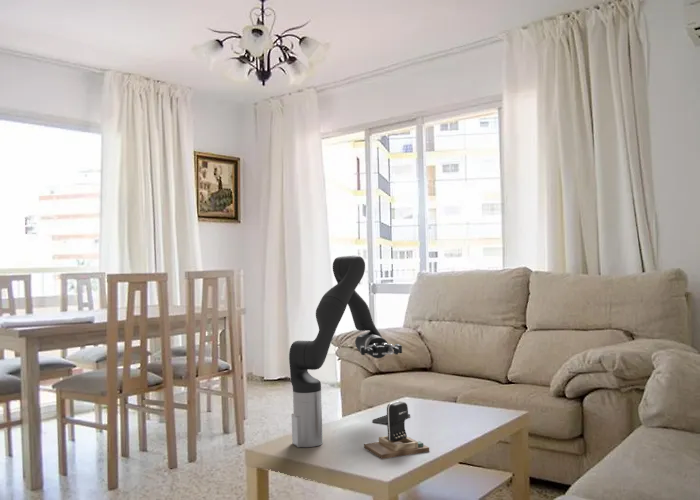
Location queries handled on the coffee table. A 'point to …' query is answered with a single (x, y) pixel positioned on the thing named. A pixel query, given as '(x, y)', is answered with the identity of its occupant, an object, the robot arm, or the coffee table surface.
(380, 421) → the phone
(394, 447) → the board
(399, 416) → the battery charger
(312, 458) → the coffee table surface
